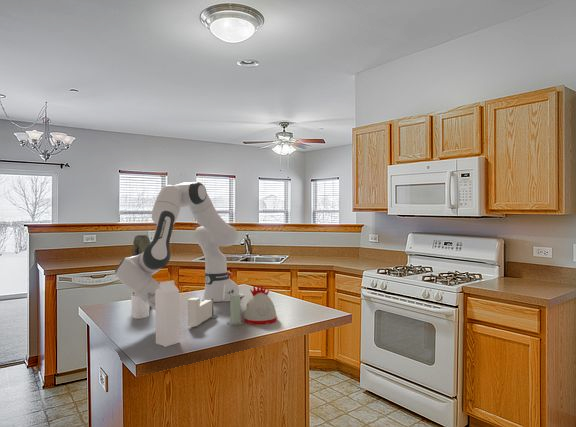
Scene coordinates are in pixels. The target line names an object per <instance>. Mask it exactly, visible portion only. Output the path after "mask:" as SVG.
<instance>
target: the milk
mask: <svg viewBox="0 0 576 427" xmlns="http://www.w3.org/2000/svg"><path fill="white" fill-rule="evenodd" d="M159 283H160V287H159V288H158V289H156V290H155V310H154V312H155V315H154V316H155V317H154V318H155V319H154V320H155V322H154V324H155V344H156V345H159V346H161V347H165V348H166V347H170V346H173V345H176V344H179V343H181V341H180V339H181V338H180V337H181V336H180V330H181V328H180V290H179V288H178V287H177V286H176V285H175V280H173V279H172V280H167V281H160V282H159Z"/></svg>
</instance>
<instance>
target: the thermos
mask: <svg viewBox="0 0 576 427" xmlns="http://www.w3.org/2000/svg"><path fill="white" fill-rule="evenodd" d="M150 243H151V240H150V237H149V235H145V234H140V235H136V236H134V239H133V245H132V246H133V247H132V249H131V250H132V252H131V255H132V256H131V257H133V256H136V255H139V254H142V253H143V252H144V251H145V249H146V248H147V246H148V245H149V244H150ZM132 294H135V293H134V292H133V293H132ZM149 307H150V308H149V309H151V308H152V307H151V306H149Z"/></svg>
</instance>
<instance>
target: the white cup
mask: <svg viewBox="0 0 576 427" xmlns="http://www.w3.org/2000/svg"><path fill="white" fill-rule="evenodd" d="M130 298H131V310H132V318H133V319H137V320H138V319H139V320H141V319H146V318H149V317H150V309H151V308H150V307H149V306H150V305H149V304H148V301H147V302H145V303H144V302H143V301H142V300H141V299H140V298H139V297H138V296H137V295H136V294H133V293H132V294H131V297H130Z"/></svg>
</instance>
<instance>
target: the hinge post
mask: <svg viewBox="0 0 576 427" xmlns="http://www.w3.org/2000/svg"><path fill="white" fill-rule="evenodd" d="M208 300H212V316H211V317H210V318H208V319H207V320H212V319H217V318H218V314H215V312H214V310H215V309H214V302H213V298H209V299H208Z"/></svg>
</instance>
